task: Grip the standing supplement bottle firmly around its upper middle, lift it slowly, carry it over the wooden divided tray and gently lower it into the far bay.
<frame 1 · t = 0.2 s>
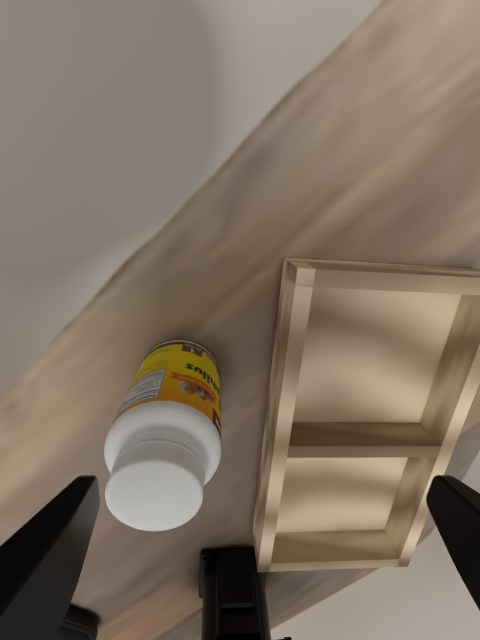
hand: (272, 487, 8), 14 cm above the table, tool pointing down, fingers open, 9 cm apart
carrying case or bag: (17, 613, 31), on the table
supplement bottle: (181, 370, 22), on the table
wooden divided tray: (345, 418, 25), on the table
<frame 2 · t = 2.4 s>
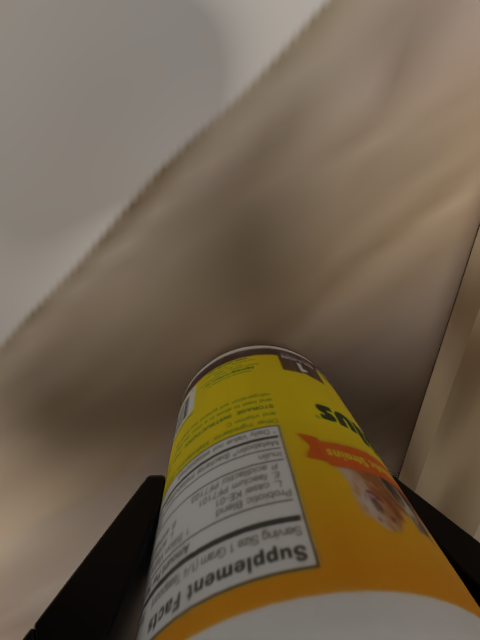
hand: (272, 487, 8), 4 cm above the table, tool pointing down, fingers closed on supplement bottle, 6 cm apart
supplement bottle: (255, 402, 12), on the table, touching gripper
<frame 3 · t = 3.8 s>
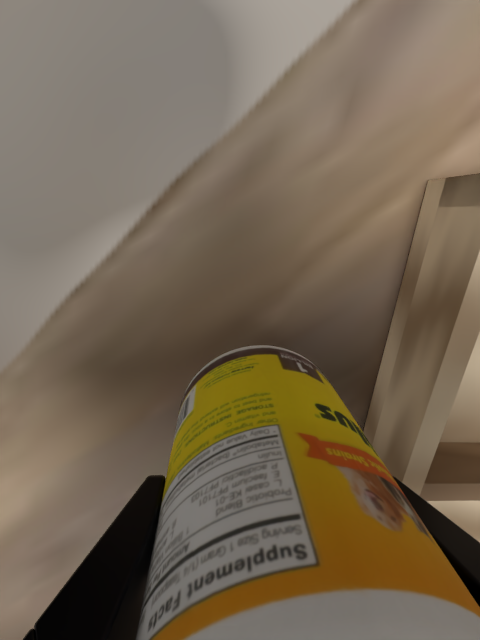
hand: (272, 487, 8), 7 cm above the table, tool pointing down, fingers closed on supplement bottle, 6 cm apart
supplement bottle: (255, 402, 12), point 3 cm above the table, touching gripper
wooden divided tray: (474, 437, 17), on the table
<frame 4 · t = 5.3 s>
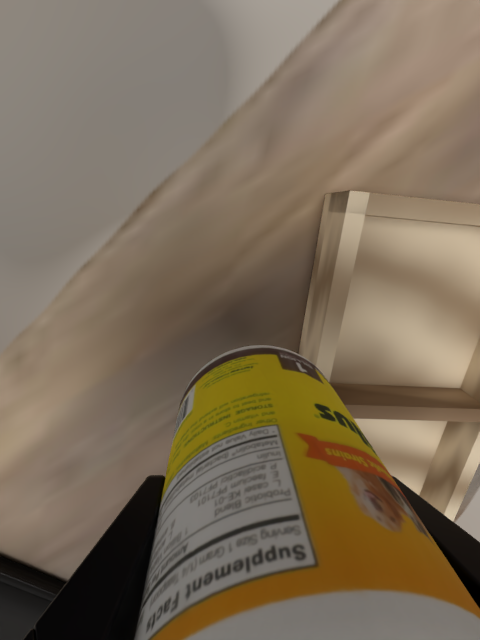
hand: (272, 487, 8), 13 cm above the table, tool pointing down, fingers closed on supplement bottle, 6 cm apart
carrying case or bag: (16, 593, 28), on the table
supplement bottle: (255, 402, 12), point 9 cm above the table, touching gripper
wooden divided tray: (379, 383, 23), on the table
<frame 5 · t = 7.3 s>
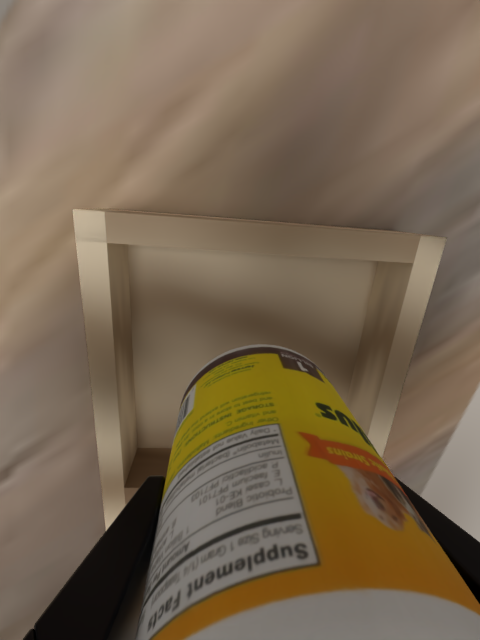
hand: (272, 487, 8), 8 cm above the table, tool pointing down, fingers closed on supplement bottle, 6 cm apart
supplement bottle: (255, 402, 12), point 5 cm above the table, touching gripper
wooden divided tray: (237, 442, 18), on the table
when the fingers open (6 cm above the table, at t = 8.7 s): supplement bottle drops 1 cm, resting on wooden divided tray.
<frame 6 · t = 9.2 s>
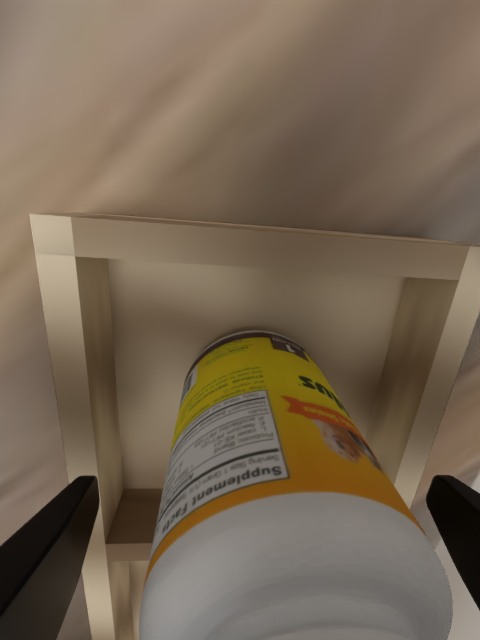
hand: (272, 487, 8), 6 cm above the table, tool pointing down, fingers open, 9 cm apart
supplement bottle: (251, 383, 13), point 1 cm above the table, touching wooden divided tray
wooden divided tray: (239, 478, 16), on the table
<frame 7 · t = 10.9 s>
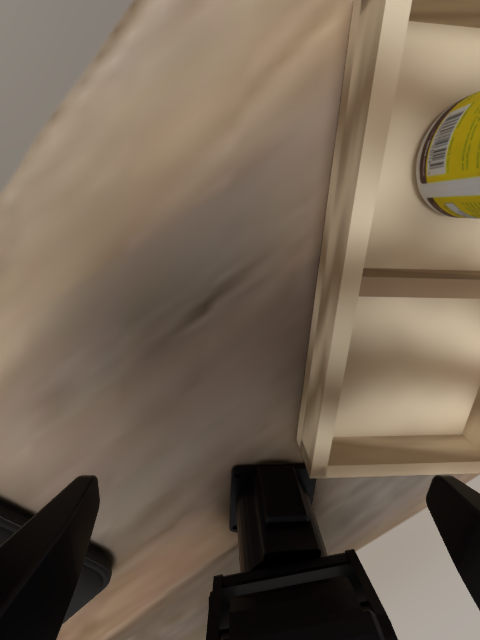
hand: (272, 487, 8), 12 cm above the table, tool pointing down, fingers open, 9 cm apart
carrying case or bag: (13, 546, 25), on the table
supplement bottle: (459, 160, 16), point 1 cm above the table, touching wooden divided tray
wooden divided tray: (420, 274, 19), on the table
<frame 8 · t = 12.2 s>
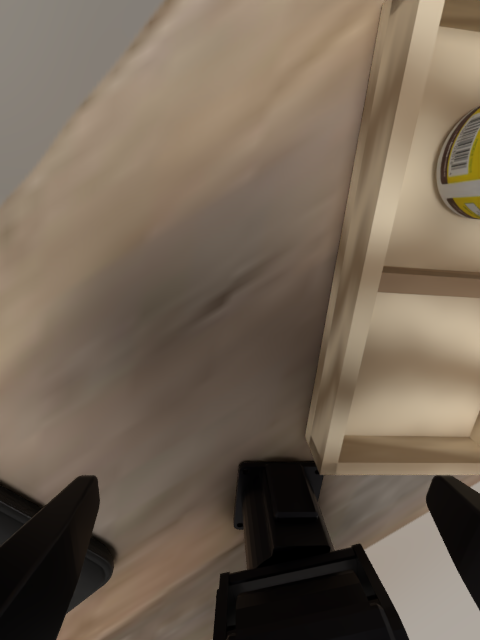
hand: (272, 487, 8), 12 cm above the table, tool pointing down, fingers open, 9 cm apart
carrying case or bag: (14, 537, 25), on the table
supplement bottle: (478, 164, 16), point 1 cm above the table, touching wooden divided tray
wooden divided tray: (435, 275, 19), on the table
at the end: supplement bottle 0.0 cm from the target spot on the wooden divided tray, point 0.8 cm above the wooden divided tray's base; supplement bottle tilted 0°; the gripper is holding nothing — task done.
